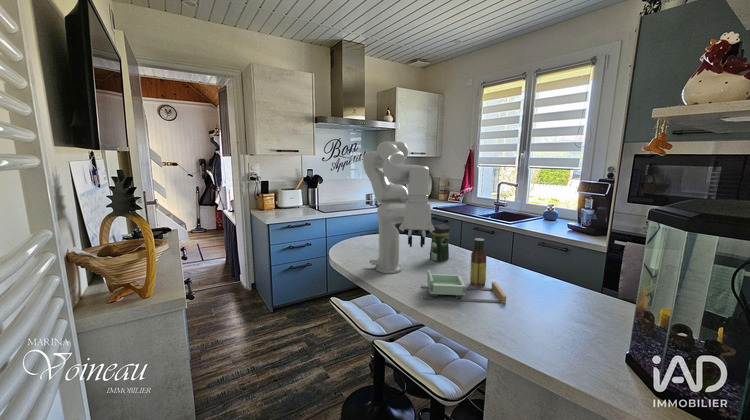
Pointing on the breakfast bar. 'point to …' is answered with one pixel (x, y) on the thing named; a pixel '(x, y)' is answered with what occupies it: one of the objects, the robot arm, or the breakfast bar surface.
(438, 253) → the coffee jar
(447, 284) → the cart
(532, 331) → the breakfast bar surface
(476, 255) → the sauce bottle
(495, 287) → the track
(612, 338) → the breakfast bar surface
